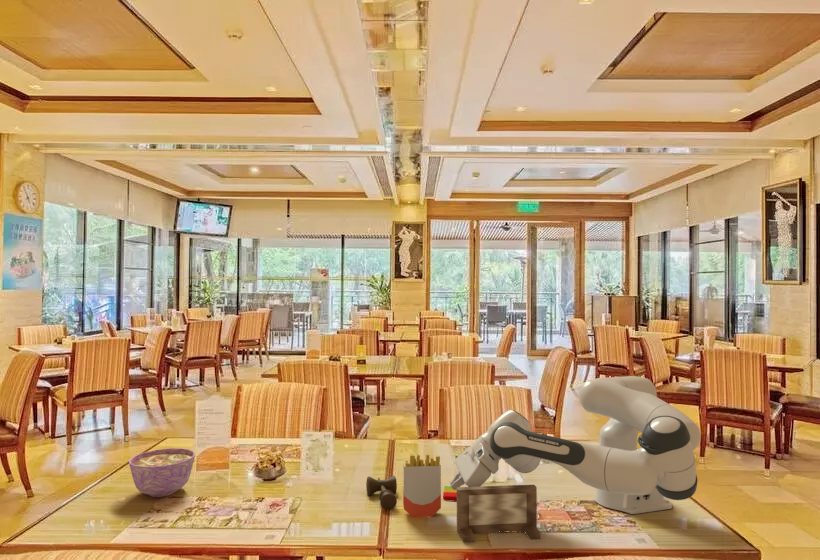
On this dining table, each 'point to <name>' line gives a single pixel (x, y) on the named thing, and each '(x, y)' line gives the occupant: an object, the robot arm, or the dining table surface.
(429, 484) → the french fries container
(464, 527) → the menu board
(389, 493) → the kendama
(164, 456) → the bowl of food
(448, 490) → the popsicle
